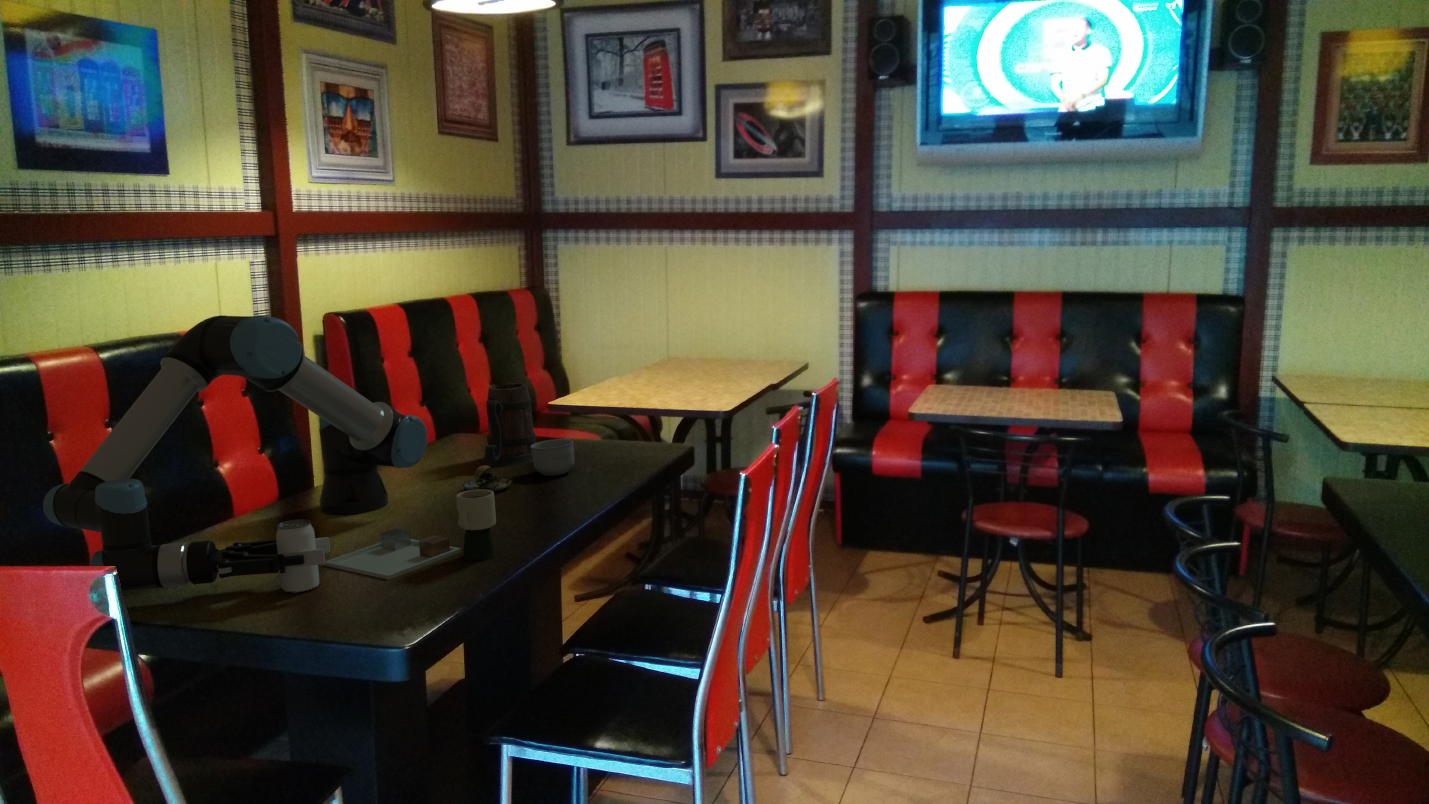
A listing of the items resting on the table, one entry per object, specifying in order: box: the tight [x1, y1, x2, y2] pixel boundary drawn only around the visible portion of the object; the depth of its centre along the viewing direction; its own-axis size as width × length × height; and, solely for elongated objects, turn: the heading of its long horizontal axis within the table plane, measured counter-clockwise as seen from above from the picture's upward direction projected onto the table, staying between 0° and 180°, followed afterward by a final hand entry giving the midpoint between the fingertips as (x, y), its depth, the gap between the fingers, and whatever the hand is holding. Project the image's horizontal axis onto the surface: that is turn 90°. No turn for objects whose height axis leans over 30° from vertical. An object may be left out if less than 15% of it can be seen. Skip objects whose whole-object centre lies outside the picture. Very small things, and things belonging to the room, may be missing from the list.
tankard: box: [481, 382, 537, 467], centre depth 295 cm, size 24×17×20 cm
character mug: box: [455, 489, 497, 561], centre depth 211 cm, size 11×7×13 cm, turn 166°
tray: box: [323, 538, 462, 581], centre depth 212 cm, size 18×18×2 cm
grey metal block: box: [379, 528, 411, 551], centre depth 219 cm, size 4×4×3 cm
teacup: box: [531, 437, 575, 477], centre depth 281 cm, size 14×11×8 cm
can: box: [275, 519, 320, 592], centre depth 199 cm, size 6×6×12 cm
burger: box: [462, 459, 513, 492], centre depth 266 cm, size 12×12×8 cm
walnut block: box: [419, 535, 451, 558], centre depth 214 cm, size 4×4×3 cm
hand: (326, 550), depth 200 cm, fingers closed on can, 6 cm apart
